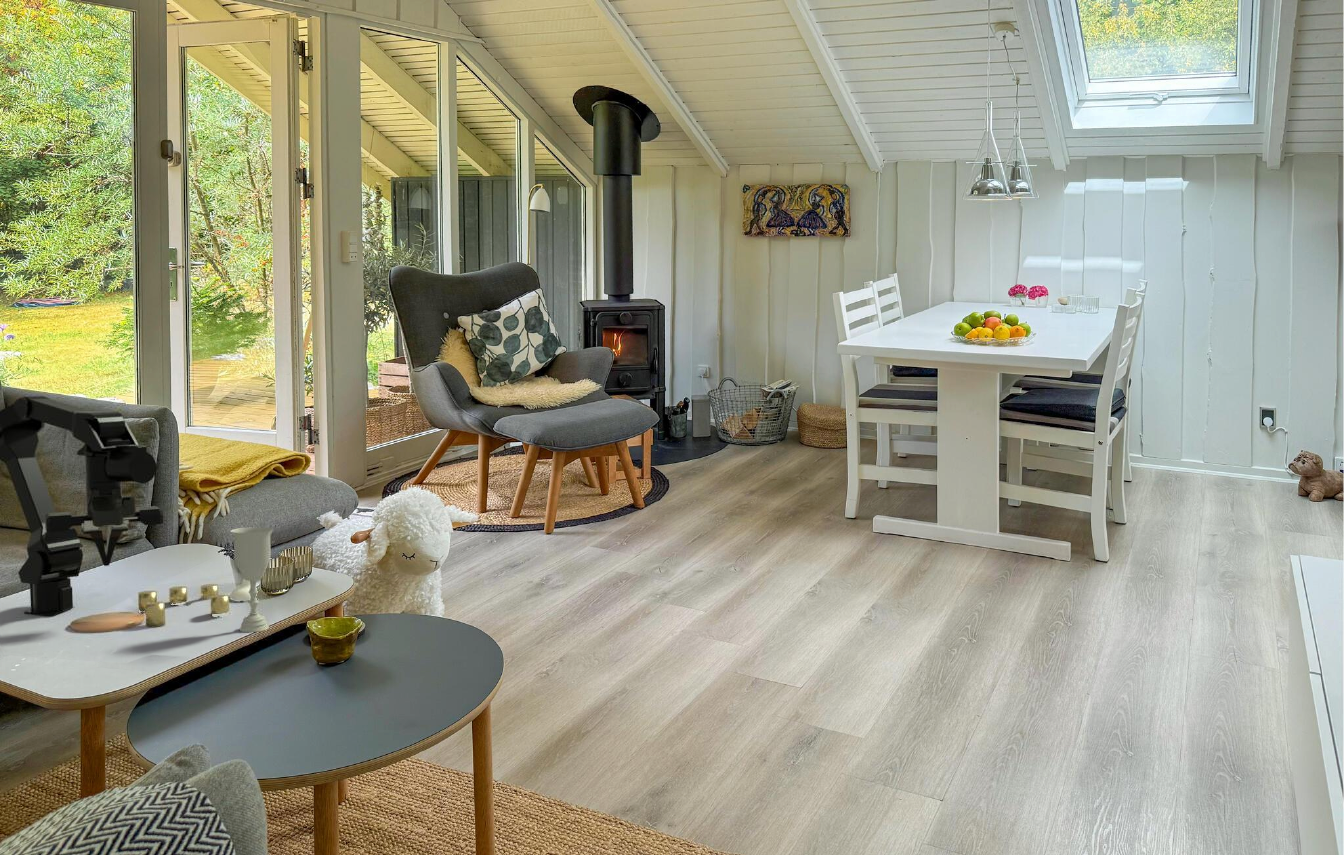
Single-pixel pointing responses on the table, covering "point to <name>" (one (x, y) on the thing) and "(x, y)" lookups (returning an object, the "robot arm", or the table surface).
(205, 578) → the table surface
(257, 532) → the chalice
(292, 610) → the table surface
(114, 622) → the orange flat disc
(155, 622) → the spacer field
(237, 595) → the cream white mushroom
